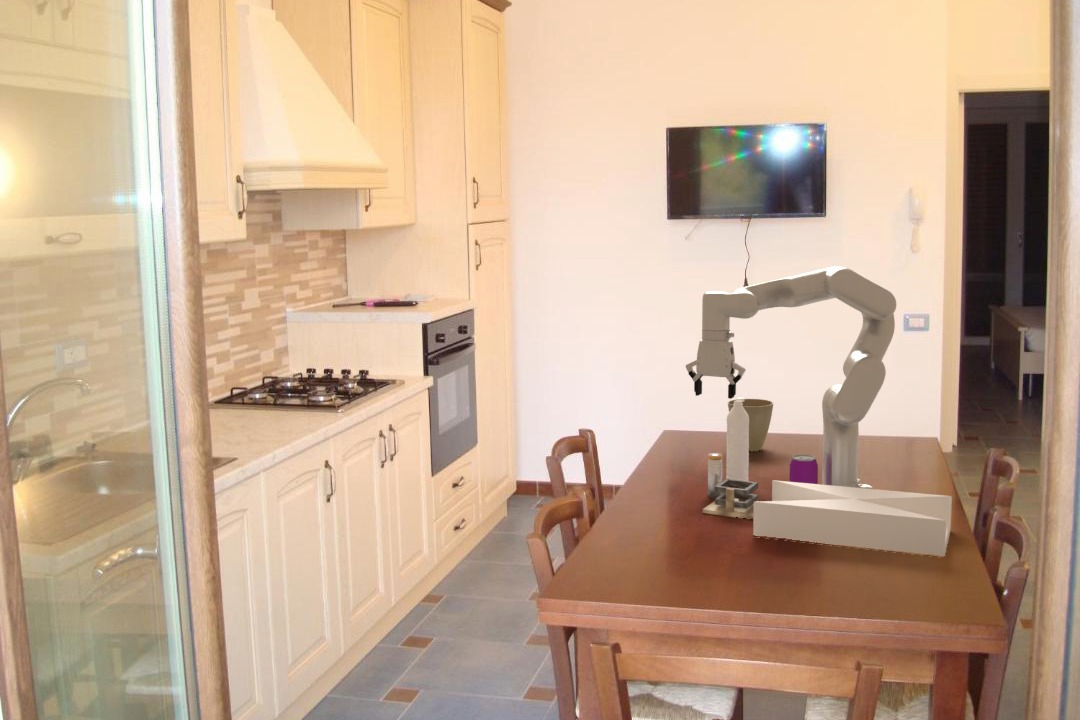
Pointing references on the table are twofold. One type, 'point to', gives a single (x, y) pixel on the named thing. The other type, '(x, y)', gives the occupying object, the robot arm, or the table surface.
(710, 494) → the steel tube
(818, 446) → the table surface
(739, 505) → the collar stand
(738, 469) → the water bottle
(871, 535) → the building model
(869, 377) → the robot arm
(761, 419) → the plant pot
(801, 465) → the beverage can
